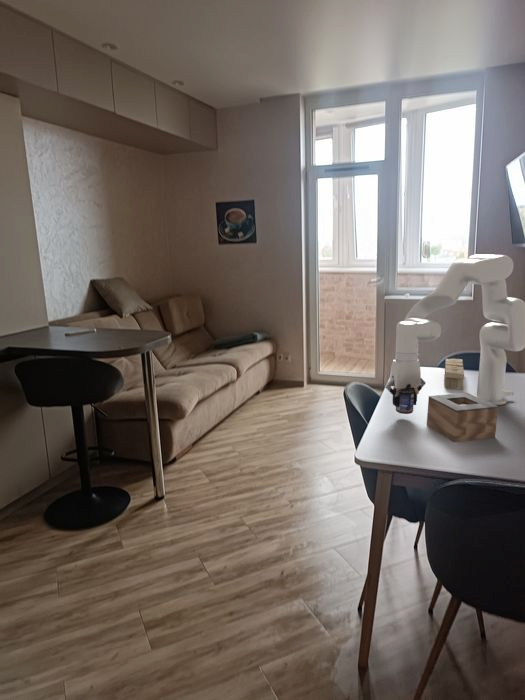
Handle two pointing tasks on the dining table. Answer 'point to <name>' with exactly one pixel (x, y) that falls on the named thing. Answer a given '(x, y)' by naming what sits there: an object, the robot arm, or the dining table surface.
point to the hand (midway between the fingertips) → (404, 404)
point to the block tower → (453, 374)
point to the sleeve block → (462, 417)
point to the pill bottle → (406, 400)
